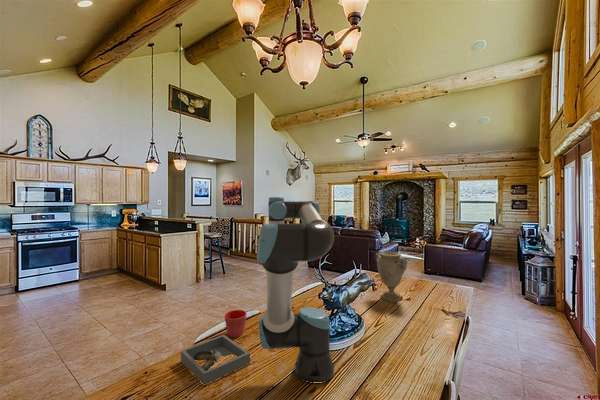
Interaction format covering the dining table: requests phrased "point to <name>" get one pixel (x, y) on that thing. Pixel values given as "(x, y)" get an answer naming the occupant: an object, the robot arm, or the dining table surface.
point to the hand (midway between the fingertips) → (276, 274)
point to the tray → (225, 348)
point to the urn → (391, 273)
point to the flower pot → (235, 322)
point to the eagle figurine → (207, 358)
